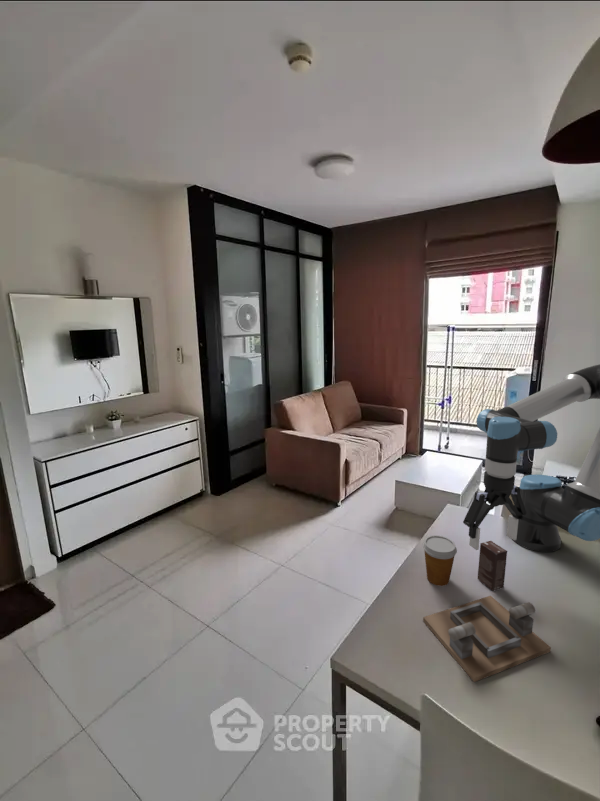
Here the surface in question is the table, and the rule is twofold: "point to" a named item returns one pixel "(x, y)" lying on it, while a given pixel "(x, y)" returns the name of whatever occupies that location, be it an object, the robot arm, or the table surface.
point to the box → (492, 565)
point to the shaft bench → (487, 636)
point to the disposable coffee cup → (439, 559)
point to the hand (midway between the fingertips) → (493, 542)
